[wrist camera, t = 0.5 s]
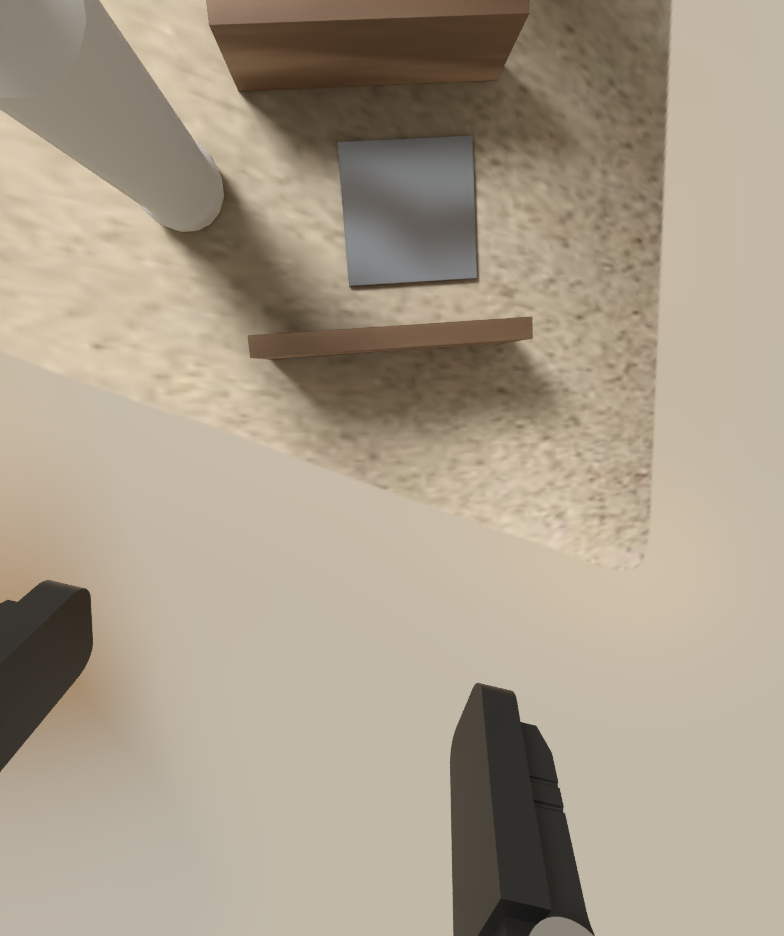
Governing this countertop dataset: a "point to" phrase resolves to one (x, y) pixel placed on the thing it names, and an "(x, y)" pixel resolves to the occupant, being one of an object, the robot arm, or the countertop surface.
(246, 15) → the arena
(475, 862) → the robot arm
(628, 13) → the countertop surface
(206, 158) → the bottle
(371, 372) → the countertop surface
